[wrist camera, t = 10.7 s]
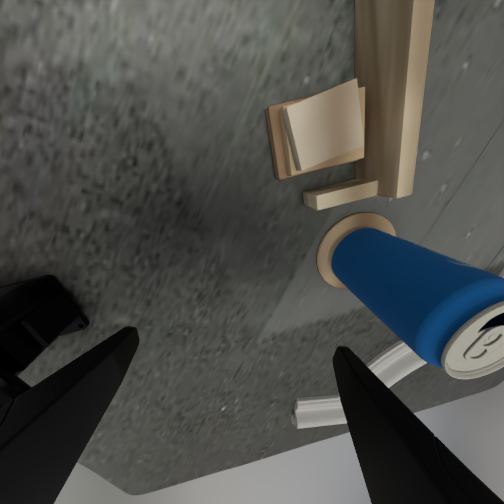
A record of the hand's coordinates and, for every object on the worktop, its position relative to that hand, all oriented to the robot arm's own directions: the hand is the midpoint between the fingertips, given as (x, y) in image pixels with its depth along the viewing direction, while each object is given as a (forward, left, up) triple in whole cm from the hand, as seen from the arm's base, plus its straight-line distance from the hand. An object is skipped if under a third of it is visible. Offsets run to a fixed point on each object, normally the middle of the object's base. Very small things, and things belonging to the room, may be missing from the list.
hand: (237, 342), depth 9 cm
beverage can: (+13, -4, -12) cm, 18 cm away
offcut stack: (+9, +8, -12) cm, 17 cm away
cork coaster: (+13, -4, -12) cm, 18 cm away
